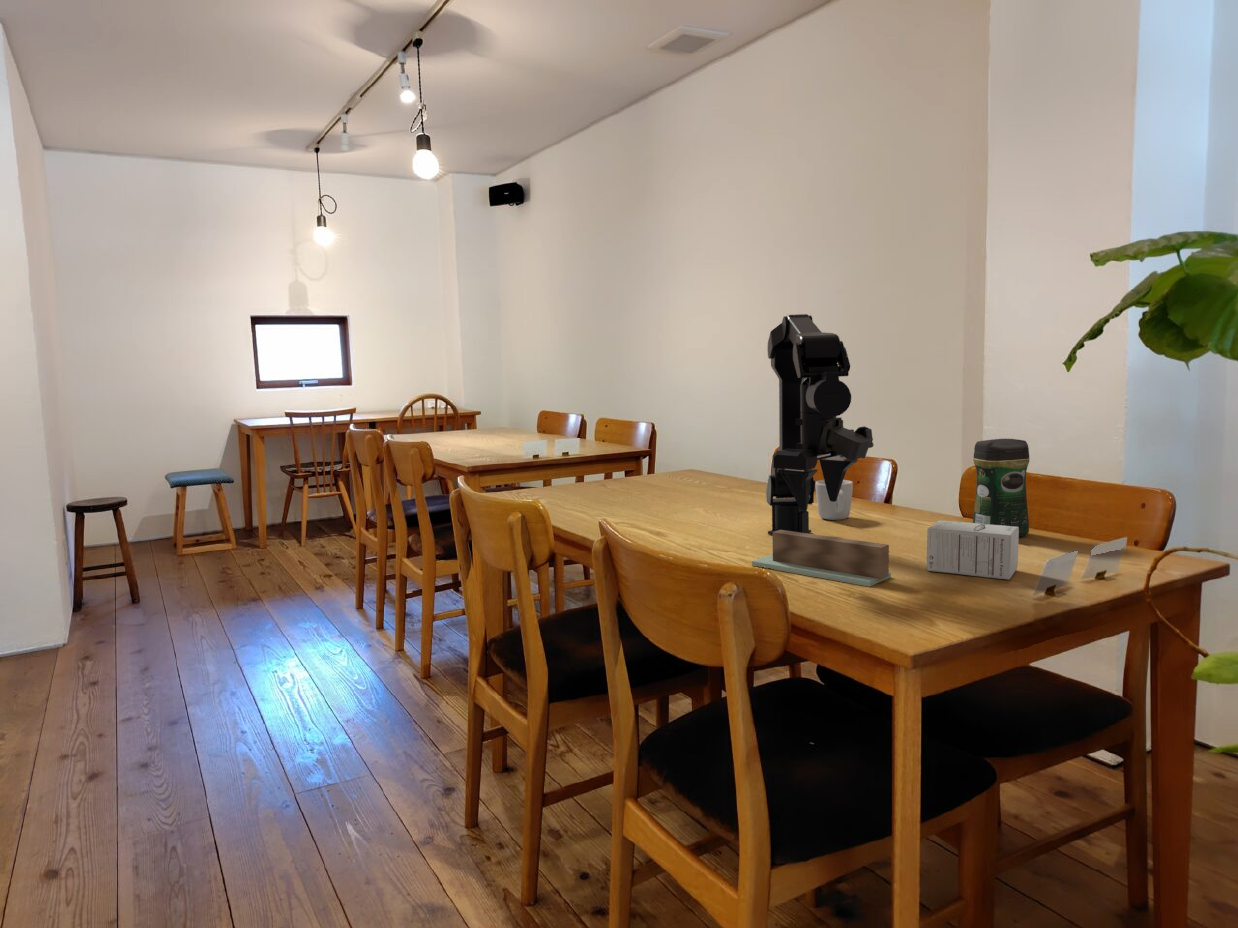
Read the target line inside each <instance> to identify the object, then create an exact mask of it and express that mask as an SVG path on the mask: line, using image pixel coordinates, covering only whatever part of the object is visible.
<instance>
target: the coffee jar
mask: <svg viewBox="0 0 1238 928" xmlns="http://www.w3.org/2000/svg"><path fill="white" fill-rule="evenodd" d="M973 450H974V452H973V460H972V461H973V465H974V466H975V470H976V490H975V501H974V508H973V517H972V523H978V524H989V525H1002V526H1014V527H1019V537H1023V536H1026V535H1028V534H1029V532H1030V521H1029V509H1028V500H1027V499H1028V497H1027V471H1028V470H1027V469H1028V466H1029V464H1030V459H1031V458H1030V448H1029V444H1028V442H1027V441H1026V440H1023V439H1017V438H1016V439H1015V438H995V439H986V440H979V441H976V443H975V444H974V449H973Z"/></svg>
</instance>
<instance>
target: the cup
mask: <svg viewBox="0 0 1238 928" xmlns="http://www.w3.org/2000/svg"><path fill="white" fill-rule="evenodd" d="M815 482H816V484H815V494H816V495H815V496H816V502H817V503H816V504H817V511H818V512H817V513H818V516H819V517H820V518H822V519H824V520H828V521H831V520H832V521H841V520H845V519H847V518H849V517H850V514H851V508H852V507H851V506H852V498H853V491H854V490H853V488H854V482H853V481H852V480H847V479H843V482H842V485H841V489H840V492H839V495H838V498H837V501H835V502H833V501H830V499H829V496H828V493H827V489H826V485H825V481H824V479H821V480H817V481H815Z"/></svg>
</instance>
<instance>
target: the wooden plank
mask: <svg viewBox="0 0 1238 928" xmlns="http://www.w3.org/2000/svg"><path fill="white" fill-rule="evenodd" d="M771 535H772V554H773V561H777V562H783V563H789V564H795V565H801V566H806V567H812V568H818V569H824V570H830V571H836V572H842V573H847V574H853V575H859V576H865V577H871V578H877V579H883V578H885V577H887V576H889V572H890V571H889V570H890V569H889V567H890V566H889V565H890V556H889V555H890V545H889V544H887V543H879V542H871V541H864V540H859V539H851V538H849V539H848V538H842V537H835V536H827V535H822V534H813V533H800V532H793V531H786V530H778V531H775V532H772V534H771Z"/></svg>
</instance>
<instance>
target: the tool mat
mask: <svg viewBox="0 0 1238 928" xmlns="http://www.w3.org/2000/svg"><path fill="white" fill-rule="evenodd" d="M752 565H753V566H752ZM751 566H752V567H757V566H758V567H757V568H762V567H763V566H765V567H764V569H768V568H771V569H770V570H773V569H774V570H775V571H780V572H785V573H791V574H797V575H802V576H803V575H804V576H807V577H808V576H809V577H814V578H818V579H824V580H831V581H835V582H841V583H847V584H852V585H853V584H854V585H859V586H864V587H868V588H869V587H872V586H874V585H876V584H878V583H880V582H883V581H885V580H887V579H890V578H891V577H892V572H891V571H889V576H887V577H885V578H883V579H877V578H871V577H865V576H859V575H853V574H847V573H842V572H836V571H830V570H824V569H818V568H812V567H806V566H801V565H795V564H789V563H783V562H777V561H773V553H772V554H769V555H767V556H766V555H765V556H763V557H760V558H757V559H754V560H751Z"/></svg>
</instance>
